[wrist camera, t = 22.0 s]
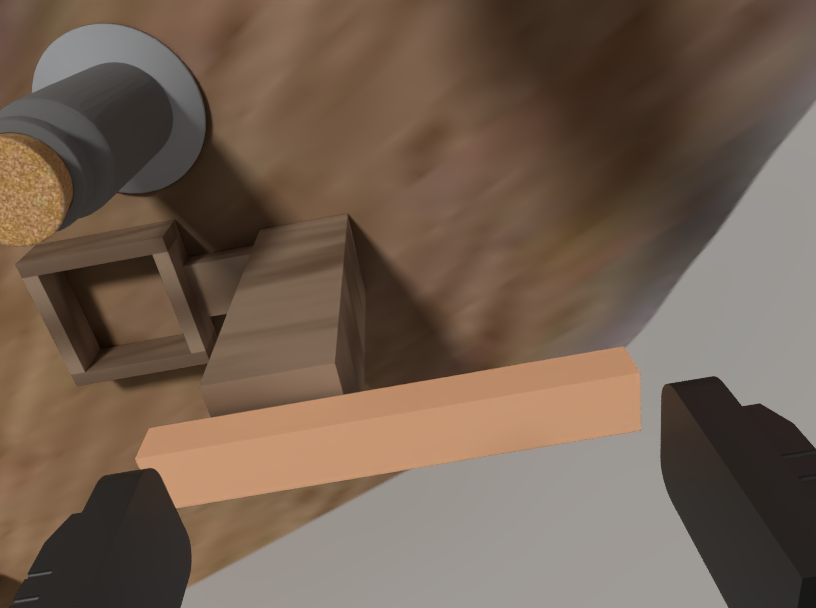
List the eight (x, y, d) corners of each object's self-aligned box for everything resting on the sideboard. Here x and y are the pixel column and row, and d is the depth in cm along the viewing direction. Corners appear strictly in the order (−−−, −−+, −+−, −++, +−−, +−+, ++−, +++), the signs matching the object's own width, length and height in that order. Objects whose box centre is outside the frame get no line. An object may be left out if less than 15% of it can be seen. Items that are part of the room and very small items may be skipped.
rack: (36, 245, 45) (-149, 412, 29) (341, 188, 44) (325, 328, 28) (92, 362, 49) (-40, 562, 33) (370, 313, 48) (370, 494, 32)
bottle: (148, 177, 42) (46, 283, 29) (58, 124, 40) (-94, 211, 27) (191, 99, 40) (103, 176, 27) (97, 39, 38) (-47, 89, 25)
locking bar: (149, 428, 30) (135, 458, 28) (623, 346, 29) (640, 372, 27) (172, 478, 31) (160, 510, 29) (624, 401, 30) (640, 430, 28)
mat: (6, 41, 39) (1, 42, 38) (174, 7, 38) (172, 8, 38) (76, 203, 43) (73, 206, 43) (227, 175, 43) (225, 177, 43)
